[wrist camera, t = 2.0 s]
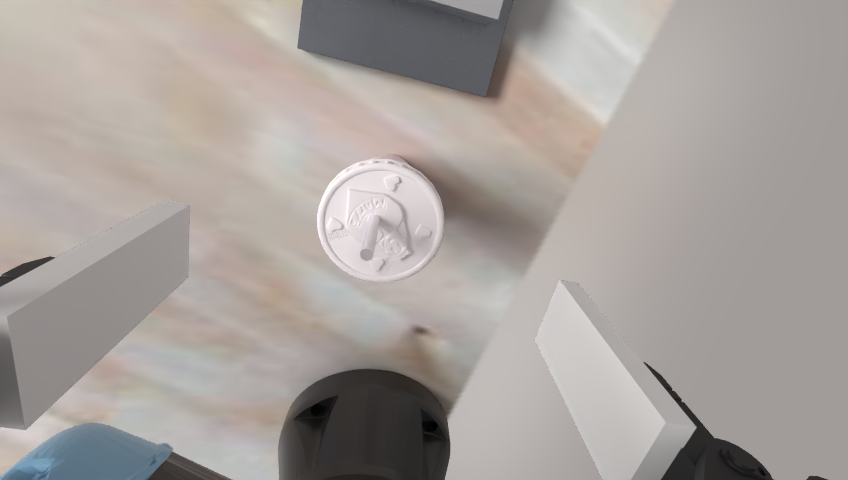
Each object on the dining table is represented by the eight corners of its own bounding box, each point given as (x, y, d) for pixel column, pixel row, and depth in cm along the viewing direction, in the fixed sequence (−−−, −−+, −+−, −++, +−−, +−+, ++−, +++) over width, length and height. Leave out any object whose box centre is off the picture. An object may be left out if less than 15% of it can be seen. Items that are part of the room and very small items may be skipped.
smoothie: (396, 114, 27) (389, 149, 14) (450, 188, 29) (487, 278, 16) (323, 171, 28) (257, 251, 15) (380, 238, 30) (364, 358, 18)
